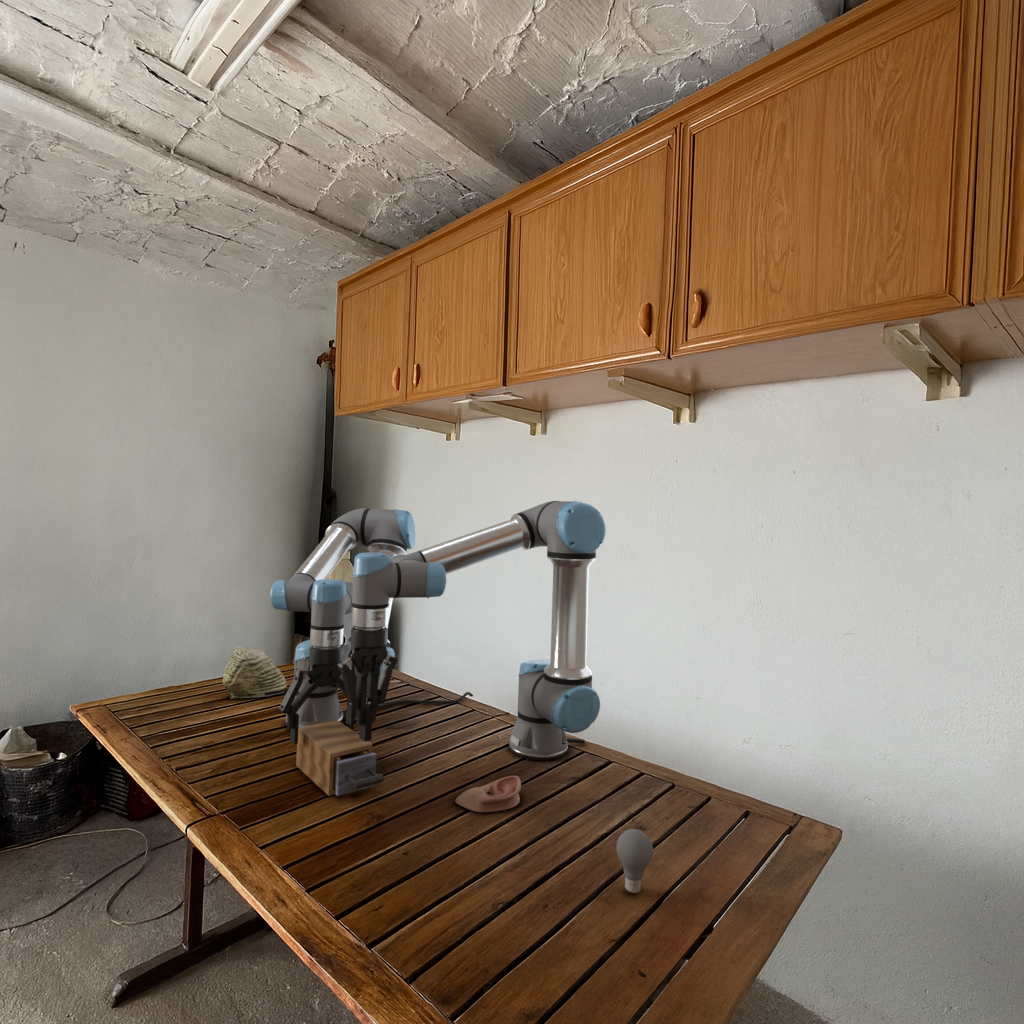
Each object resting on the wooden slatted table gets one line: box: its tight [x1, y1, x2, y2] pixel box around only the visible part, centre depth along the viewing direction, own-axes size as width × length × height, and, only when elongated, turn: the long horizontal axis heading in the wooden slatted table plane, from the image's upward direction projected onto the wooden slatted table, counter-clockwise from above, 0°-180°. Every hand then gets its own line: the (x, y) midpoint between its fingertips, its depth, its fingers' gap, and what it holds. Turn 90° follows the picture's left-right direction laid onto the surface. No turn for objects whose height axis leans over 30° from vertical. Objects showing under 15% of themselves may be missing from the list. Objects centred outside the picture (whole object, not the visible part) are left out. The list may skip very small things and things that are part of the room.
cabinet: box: [295, 720, 373, 797], centre depth 144 cm, size 18×10×9 cm, turn 40°
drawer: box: [333, 750, 384, 797], centre depth 139 cm, size 23×9×7 cm, turn 40°
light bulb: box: [615, 828, 654, 894], centre depth 106 cm, size 6×6×10 cm
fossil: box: [222, 646, 288, 699], centre depth 198 cm, size 9×18×15 cm, turn 132°
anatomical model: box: [454, 775, 522, 813], centre depth 135 cm, size 13×4×12 cm
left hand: (322, 736), depth 148 cm, fingers open, 13 cm apart
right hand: (365, 738), depth 133 cm, fingers closed
